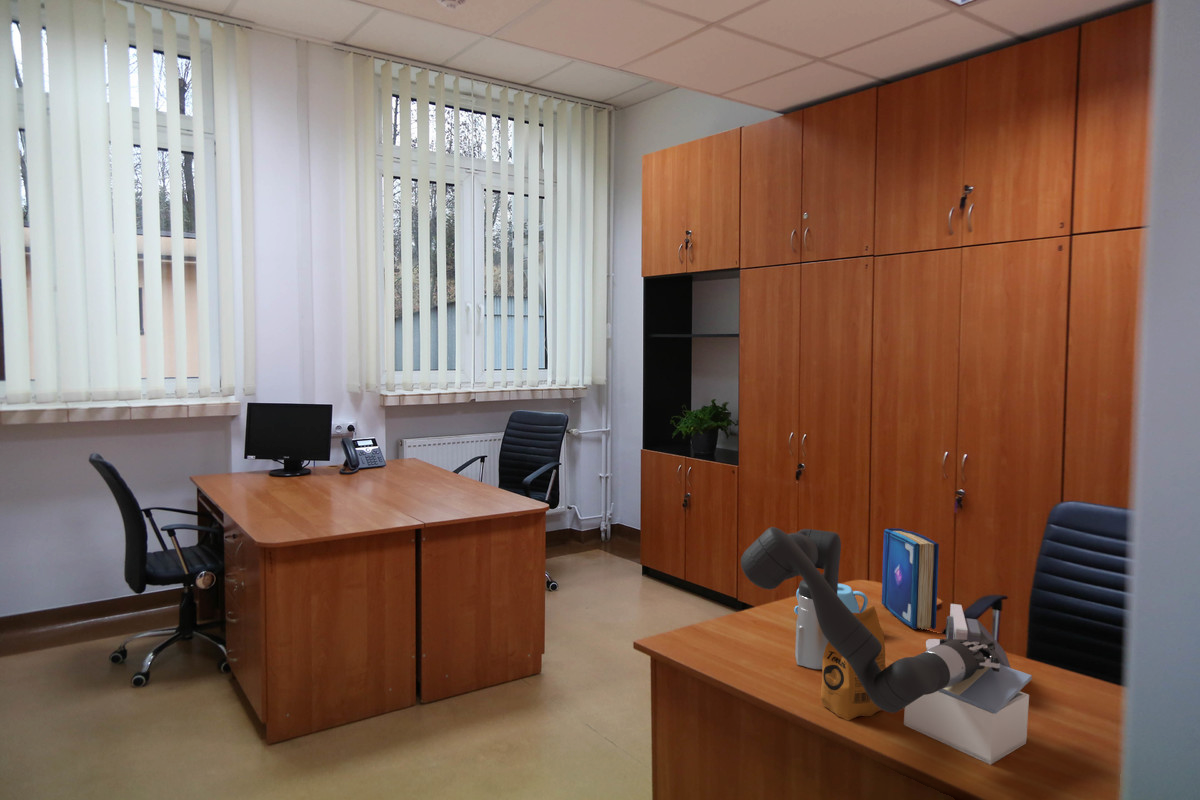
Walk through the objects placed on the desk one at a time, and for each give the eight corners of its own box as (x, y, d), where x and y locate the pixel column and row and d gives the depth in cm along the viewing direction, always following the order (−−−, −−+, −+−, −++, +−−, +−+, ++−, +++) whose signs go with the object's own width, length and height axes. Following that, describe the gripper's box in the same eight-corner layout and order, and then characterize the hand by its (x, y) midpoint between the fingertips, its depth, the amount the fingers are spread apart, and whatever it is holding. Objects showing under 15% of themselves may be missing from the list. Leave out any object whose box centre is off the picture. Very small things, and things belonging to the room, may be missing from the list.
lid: (996, 713, 141) (995, 709, 141) (904, 676, 156) (903, 672, 156) (1031, 678, 149) (1031, 674, 148) (940, 646, 164) (940, 643, 164)
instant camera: (927, 653, 194) (930, 596, 193) (1018, 672, 184) (1022, 612, 183) (915, 684, 176) (918, 622, 175) (1015, 707, 166) (1019, 641, 165)
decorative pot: (824, 642, 200) (826, 592, 199) (788, 621, 215) (790, 574, 214) (873, 635, 206) (875, 586, 205) (835, 614, 221) (837, 569, 220)
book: (877, 604, 230) (881, 524, 228) (899, 604, 231) (903, 524, 229) (912, 631, 209) (916, 543, 207) (936, 631, 209) (941, 543, 207)
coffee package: (813, 703, 166) (817, 605, 164) (856, 693, 171) (860, 598, 169) (845, 724, 157) (849, 621, 155) (890, 713, 162) (894, 613, 160)
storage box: (990, 764, 142) (993, 713, 141) (903, 724, 157) (906, 678, 156) (1026, 743, 150) (1029, 694, 149) (940, 707, 165) (943, 662, 164)
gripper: (980, 658, 142) (1024, 638, 152) (915, 635, 153) (961, 618, 163) (978, 696, 142) (1022, 674, 152) (913, 671, 153) (959, 651, 163)
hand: (990, 645), depth 158 cm, fingers closed
